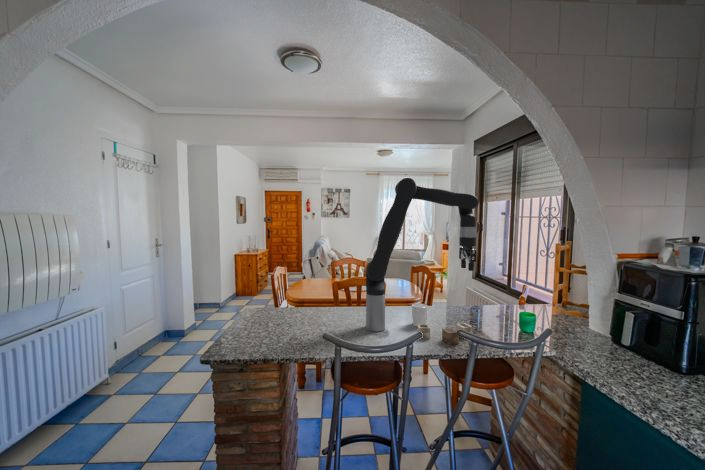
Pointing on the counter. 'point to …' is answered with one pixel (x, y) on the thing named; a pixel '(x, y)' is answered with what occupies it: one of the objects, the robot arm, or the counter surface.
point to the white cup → (419, 313)
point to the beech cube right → (464, 327)
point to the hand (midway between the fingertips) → (467, 269)
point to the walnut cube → (450, 336)
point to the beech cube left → (424, 330)
